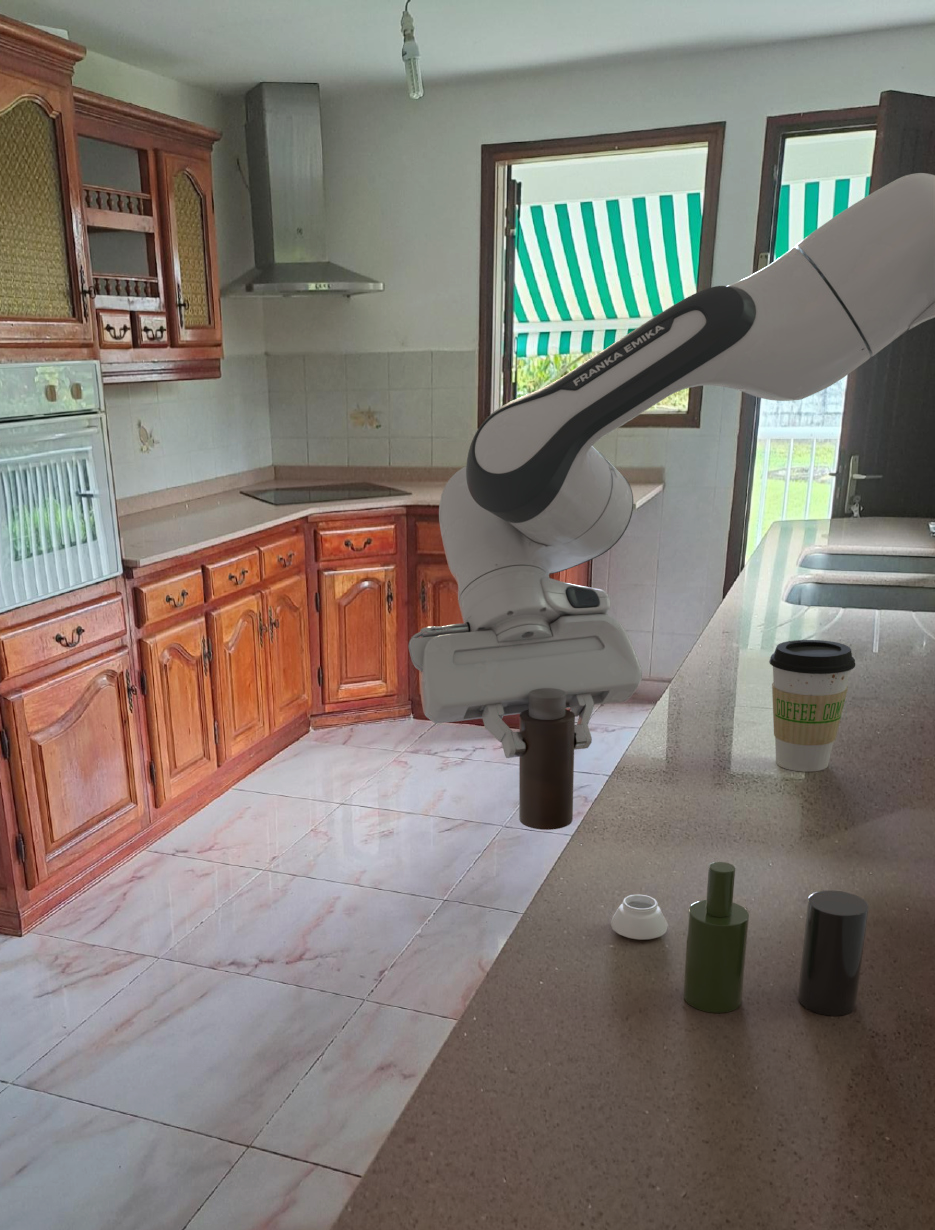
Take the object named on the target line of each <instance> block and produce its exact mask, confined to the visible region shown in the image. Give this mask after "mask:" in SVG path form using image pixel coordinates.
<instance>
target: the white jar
mask: <svg viewBox="0 0 935 1230" xmlns="http://www.w3.org/2000/svg"><path fill="white" fill-rule="evenodd" d="M668 925H669V923H668V922H667V920H666V918H665V915H664V914H663V911H662V909H661V907H660V906H659V905H658V901H657V899H655V898H654V897H652V896H649V895H646V894H630V895H628V896H625V897H624V898H623V901H622V903H621V904H620V905H619V906H618V908H617V909H616V911H615V913H614V914H613V915H612V918H611V920H610V926H611V929H612V931H614V932H615V933H616V934H618V935H620V936H623V937H625V938H628V939H633V940H639V941H641V940H642V941H643V940H652V939H657V938H660V937H662V936H663V935H664V934H666V933H667V930H668V927H669V926H668Z"/></svg>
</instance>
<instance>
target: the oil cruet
mask: <svg viewBox="0 0 935 1230" xmlns="http://www.w3.org/2000/svg"><path fill="white" fill-rule="evenodd" d="M707 870H708V872H707V884H706V885H707V886H706V889H707V890H706V898H705V899H702V900H699V901H695V902H693V903H692V904H691V905H690V906H689V908H688V915H687V929H686V930H687V931H686V947H685V963H684V979H683V991H682V993H683V994H682V995H683V996H682V997H683V999H684V1001H685V1002H686V1003H687V1004H688V1005H689V1006H691V1007H693V1008H694V1009H697V1010H700V1011H702V1012H706V1013H712V1014H722V1013H723V1014H724V1013H730V1012H733V1011H735V1010H737V1009H738V1008H740V1007H741V1005H742V1000H743V989H744V979H745V978H744V976H745V968H746V967H745V966H746V954H747V942H748V931H749V920H750V914H749V911H748V910H747V909H746V908H745V907H744V906H742V905H740V904H738V903H737V902H733V901H734V893H735V892H734V889H735V878H736V867H735V865H733V864H731V863H729V862H724V861H715V862H711V863H710V864H709V865H708V869H707Z"/></svg>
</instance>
